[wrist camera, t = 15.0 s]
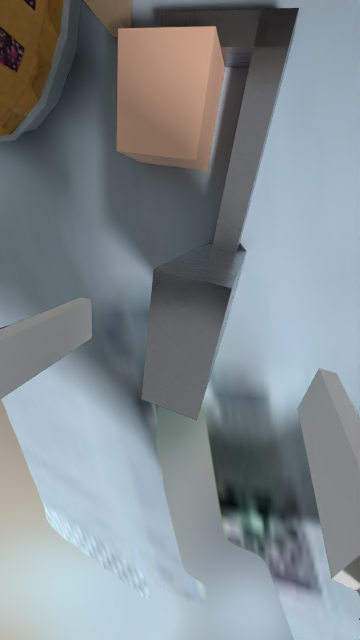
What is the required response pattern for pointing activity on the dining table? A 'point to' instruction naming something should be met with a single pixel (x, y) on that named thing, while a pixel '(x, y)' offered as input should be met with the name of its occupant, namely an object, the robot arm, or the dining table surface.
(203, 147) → the block
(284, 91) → the dining table surface
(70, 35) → the pie
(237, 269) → the hook tool
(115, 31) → the shelf
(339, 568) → the robot arm
